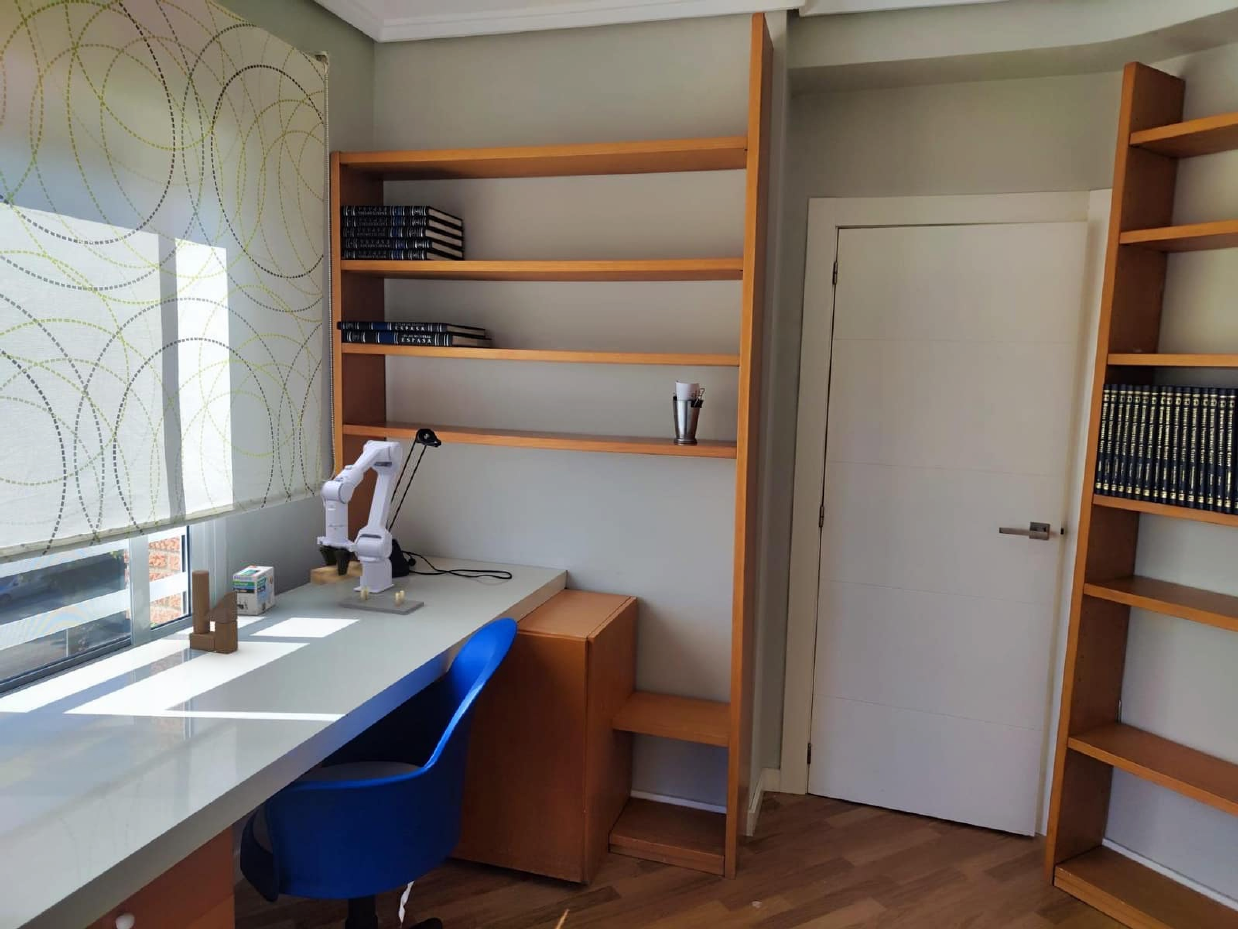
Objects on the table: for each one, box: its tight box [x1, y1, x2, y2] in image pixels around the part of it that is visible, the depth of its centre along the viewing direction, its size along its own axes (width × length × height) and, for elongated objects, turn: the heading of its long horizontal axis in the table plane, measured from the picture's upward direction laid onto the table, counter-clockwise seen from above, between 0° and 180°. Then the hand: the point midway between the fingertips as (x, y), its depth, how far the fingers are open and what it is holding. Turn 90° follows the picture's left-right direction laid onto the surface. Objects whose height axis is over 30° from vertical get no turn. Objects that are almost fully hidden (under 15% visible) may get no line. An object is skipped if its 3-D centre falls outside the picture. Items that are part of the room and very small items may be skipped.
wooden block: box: [189, 569, 239, 655], centre depth 195 cm, size 4×11×18 cm, turn 73°
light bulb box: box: [232, 565, 275, 616], centre depth 227 cm, size 11×7×11 cm, turn 179°
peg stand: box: [339, 586, 425, 616], centre depth 234 cm, size 10×20×4 cm, turn 73°
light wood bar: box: [310, 560, 363, 586], centre depth 233 cm, size 14×4×4 cm, turn 146°
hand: (337, 573), depth 233 cm, fingers closed on light wood bar, 4 cm apart
